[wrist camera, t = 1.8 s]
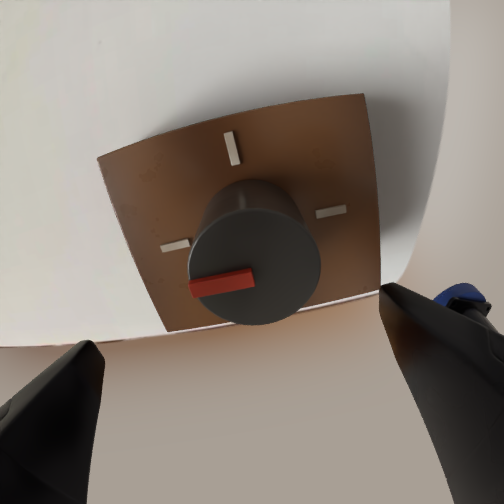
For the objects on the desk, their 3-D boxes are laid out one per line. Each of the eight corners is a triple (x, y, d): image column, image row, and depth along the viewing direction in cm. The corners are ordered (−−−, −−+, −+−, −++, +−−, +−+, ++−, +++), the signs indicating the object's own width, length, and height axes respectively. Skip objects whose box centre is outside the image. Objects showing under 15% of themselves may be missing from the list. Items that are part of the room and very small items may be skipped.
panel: (332, 97, 15) (365, 92, 10) (353, 249, 20) (381, 291, 15) (133, 144, 16) (94, 158, 11) (181, 285, 20) (166, 334, 16)
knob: (291, 169, 12) (314, 198, 8) (307, 260, 14) (329, 317, 10) (189, 193, 12) (165, 231, 9) (217, 279, 14) (208, 340, 11)
